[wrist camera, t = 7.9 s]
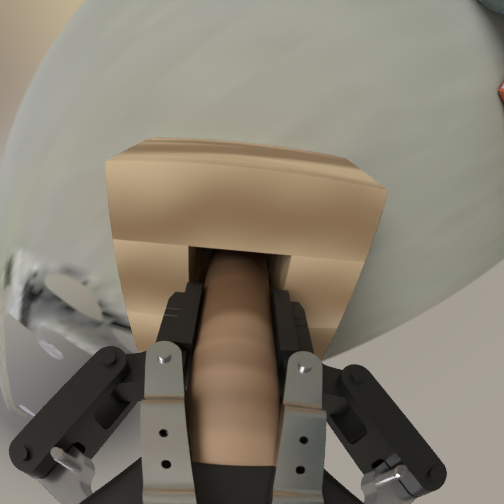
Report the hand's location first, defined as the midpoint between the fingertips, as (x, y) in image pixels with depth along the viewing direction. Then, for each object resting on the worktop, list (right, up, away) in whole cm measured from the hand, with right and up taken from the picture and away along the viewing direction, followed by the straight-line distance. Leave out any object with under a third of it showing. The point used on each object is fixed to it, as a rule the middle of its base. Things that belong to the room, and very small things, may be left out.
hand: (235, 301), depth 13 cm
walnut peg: (0, +2, +3) cm, 3 cm away
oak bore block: (0, +4, +6) cm, 7 cm away
